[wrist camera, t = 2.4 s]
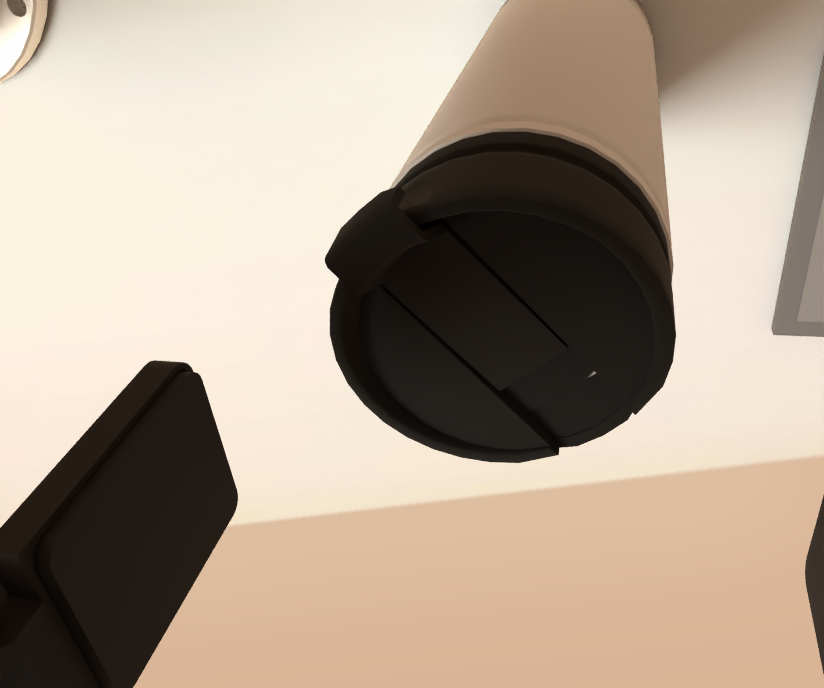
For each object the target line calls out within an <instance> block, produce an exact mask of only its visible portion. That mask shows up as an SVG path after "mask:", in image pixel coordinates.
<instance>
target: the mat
mask: <svg viewBox="0 0 824 688" xmlns="http://www.w3.org/2000/svg"><path fill="white" fill-rule="evenodd" d="M772 332H773V335H791V336H816V337H824V56H823V61H822V66H821V72H820V77H819V82H818V87H817V93H816V98H815V103H814V108H813V114H812V119H811V124H810V129H809V135H808V140H807V145H806V150H805V156H804V161H803V166H802V171H801V177H800V182H799V187H798V192H797V198H796V203H795V208H794V213H793V219H792V224H791V229H790V234H789V240H788V245H787V250H786V255H785V261H784V266H783V271H782V276H781V281H780V287H779V292H778V297H777V302H776V308H775V313H774V318H773V323H772Z"/></svg>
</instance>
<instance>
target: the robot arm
mask: <svg viewBox="0 0 824 688" xmlns="http://www.w3.org/2000/svg"><path fill="white" fill-rule="evenodd" d="M47 5H48V0H0V83H1V82H3V81H5V80H7V79H8V78H10V77H12V76H14V75H15V74H16V73H17V72H18V71H19V70H20V69H21V68H22V67H23V66H24V65H25V64H26V63H27V62H28V61H29V60H30V58H31V56H32V55H33V53H34V51H35V49H36V47H37V46H38V44H39V42H40V39H41V36H42V32H43V29H44V25H45V21H46V18H47ZM237 502H238V493H237V489H236V486H235V483H234V479H233V476H232V473H231V470H230V467H229V464H228V460H227V457H226V454H225V451H224V448H223V445H222V441H221V438H220V435H219V432H218V429H217V425H216V422H215V419H214V416H213V413H212V410H211V406H210V403H209V400H208V397H207V394H206V391H205V387H204V384H203V381H202V379H201V376H200V375H199V374H198V373H195V372H193V370H192V368H191V367H190V366H189V365H188V364H187V363H183V362H169V361H155V360H154V361H150V362H149V363H147V364H146V365H145V366H144V367H143V368H142V369H141V371H140V372H139V373H138V374H137V375H136V376H135V377H134V378H133V380H132V381H131V382H130V383H129V384H128V385H127V386H126V387H125V389H124V390H123V391H122V392H121V393H120V394H119V395H118V396H117V398H116V399H115V400H114V401H113V402H112V403H111V404H110V405H109V407H108V408H107V409H106V410H105V411H104V412H103V413H102V414H101V416H100V417H99V418H98V419H97V420H96V421H95V422H94V423H93V425H92V426H91V427H90V428H89V429H88V430H87V431H86V432H85V434H84V435H83V436H82V437H81V438H80V439H79V440H78V441H77V442H76V444H75V445H74V446H73V447H72V448H71V449H70V450H69V451H68V453H67V454H66V455H65V456H64V457H63V458H62V459H61V460H60V462H59V463H58V464H57V465H56V466H55V467H54V468H53V469H52V471H51V472H50V473H49V474H48V475H47V476H46V477H45V478H44V480H43V481H42V482H41V483H40V484H39V485H38V486H37V487H36V489H35V490H34V491H33V492H32V493H31V494H30V495H29V496H28V498H27V499H26V500H25V501H24V502H23V503H22V504H21V505H20V507H19V508H18V509H17V510H16V511H15V512H14V513H13V514H12V516H11V517H10V518H9V519H8V520H7V521H6V522H5V523H4V524H3V526H2V527H1V528H0V688H133V686H134V685H135V684H136V682H137V680H138V678H139V677H140V675H141V673H142V672H143V670H144V668H145V666H146V665H147V663H148V661H149V659H150V658H151V656H152V654H153V653H154V651H155V649H156V647H157V646H158V644H159V642H160V641H161V639H162V637H163V635H164V634H165V632H166V630H167V629H168V627H169V625H170V623H171V622H172V620H173V618H174V616H175V615H176V613H177V611H178V610H179V608H180V606H181V604H182V602H183V601H184V599H185V598H186V596H187V594H188V592H189V591H190V589H191V587H192V586H193V584H194V582H195V580H196V578H197V577H198V575H199V573H200V572H201V570H202V568H203V566H204V565H205V563H206V561H207V560H208V558H209V556H210V554H211V553H212V551H213V549H214V548H215V546H216V544H217V542H218V541H219V539H220V537H221V536H222V534H223V532H224V530H225V529H226V527H227V525H228V524H229V522H230V520H231V518H232V517H233V515H234V513H235V511H236V507H237ZM805 578H806V587H807V592H808V597H809V602H810V607H811V612H812V617H813V622H814V628H815V632H816V637H817V643H818V648H819V653H820V658H821V663H822V668H823V673H824V497H823V500H822V504H821V508H820V511H819V515H818V518H817V522H816V526H815V529H814V533H813V537H812V540H811V544H810V547H809V551H808V555H807V560H806V568H805Z"/></svg>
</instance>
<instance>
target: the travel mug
mask: <svg viewBox="0 0 824 688" xmlns="http://www.w3.org/2000/svg"><path fill="white" fill-rule="evenodd" d="M671 245H672V244H671V233H670V222H669V210H668V199H667V187H666V176H665V165H664V153H663V142H662V130H661V119H660V108H659V96H658V85H657V74H656V62H655V51H654V42H653V34H652V29H651V26H650V23H649V20H648V17H647V15H646V13H645V11H644V9H643V8H642V6H641V4H640V3H639V1H638V0H507V1H506V2H505V4H504V5H503V6H502V7H501V9H500V10H499V12H498V14H497V15H496V17H495V18H494V20H493V22H492V23H491V25H490V27H489V28H488V30H487V31H486V33H485V35H484V36H483V38H482V40H481V41H480V43H479V44H478V46H477V48H476V49H475V51H474V53H473V54H472V56H471V57H470V59H469V61H468V62H467V64H466V65H465V67H464V69H463V70H462V72H461V74H460V75H459V77H458V78H457V80H456V82H455V83H454V85H453V87H452V88H451V90H450V91H449V93H448V95H447V96H446V98H445V100H444V101H443V103H442V104H441V106H440V108H439V109H438V111H437V113H436V114H435V116H434V117H433V119H432V121H431V122H430V124H429V125H428V127H427V129H426V130H425V132H424V134H423V135H422V137H421V138H420V140H419V142H418V143H417V145H416V147H415V148H414V150H413V151H412V153H411V155H410V156H409V158H408V160H407V161H406V163H405V164H404V166H403V168H402V169H401V171H400V173H399V175H398V176H397V178H396V179H395V181H394V182H393V184H392V185H391V187H390V189H389V190H386V191H383V192H381V193H379V194H378V195H377V196H376V197H375V198H373V199H372V200H371V201H370V202H369V203H367V204H366V205H365V206H364V207H363V208H361V209H360V210H359V211H358V212H357V213H356V214H355V215H354V216H353V217H352V218H351V219H350V220H349V221H348V222H347V223H346V224H345V225H344V226H343V227H342V228H341V229H340V231H339V233H338V235H337V237H336V239H335V240H334V242H333V244H332V246H331V248H330V250H329V251H328V253H327V255H326V257H325V263H326V265H327V267H328V269H330V270H331V271H332V272H333V273H334V274H335V275H336V276H337V277H338V278H339V280H338V283H337V285H336V288H335V292H334V295H333V299H332V303H331V307H330V337H331V341H332V345H333V349H334V353H335V357H336V361H337V363H338V365H339V367H340V369H341V371H342V373H343V375H344V377H345V379H346V381H347V383H348V384H349V386H350V387H351V388H352V389H353V391H354V392H355V393H356V395H357V396H358V397H359V398H360V400H361V401H362V402H363V404H364V405H365V406H367V407H368V408H369V409H370V410H371V411H372V412H373V413H374V414H375V415H377V416H378V417H379V418H380V419H381V420H382V421H383V422H384V423H386V424H388V425H389V426H391V427H392V428H394V429H395V430H397V431H398V432H400V433H402V434H403V435H405V436H406V437H408V438H410V439H412V440H414V441H417V442H419V443H421V444H423V445H425V446H428V447H430V448H432V449H435V450H438V451H442V452H445V453H448V454H452V455H455V456H458V457H462V458H468V459H474V460H481V461H487V462H507V463H521V462H526V461H531V460H536V459H540V458H545V457H550V456H555V455H559V448H560V447H572V446H579V445H581V444H584V443H586V442H588V441H591V440H593V439H596V438H598V437H600V436H603V435H605V434H606V433H608V432H609V431H611V430H613V429H614V428H616V427H617V426H619V425H620V424H622V423H624V422H625V421H627V420H628V418H629V417H630V415H631V414H632V412H633V413H634V414H635V415H636V414H637V413H638V412H639V411H640V410H641V409H642V408H643V407H644V406H645V405H646V403H647V402H648V401H649V400H650V399H651V398H652V397H653V396H654V395H655V394H656V393H657V392H658V391H659V390H660V389H661V388H662V387H663V385H664V383H665V380H666V378H667V375H668V372H669V370H670V367H671V365H672V362H673V356H674V347H675V339H676V330H675V318H674V305H673V293H672V286H671V283H672V273H673V256H672V249H671Z"/></svg>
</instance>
